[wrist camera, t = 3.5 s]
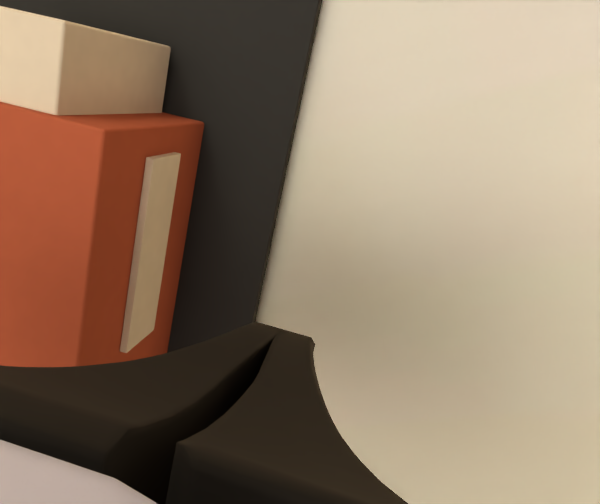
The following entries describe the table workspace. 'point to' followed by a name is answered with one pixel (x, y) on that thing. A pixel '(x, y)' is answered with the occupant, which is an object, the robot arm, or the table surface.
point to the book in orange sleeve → (88, 194)
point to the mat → (220, 133)
